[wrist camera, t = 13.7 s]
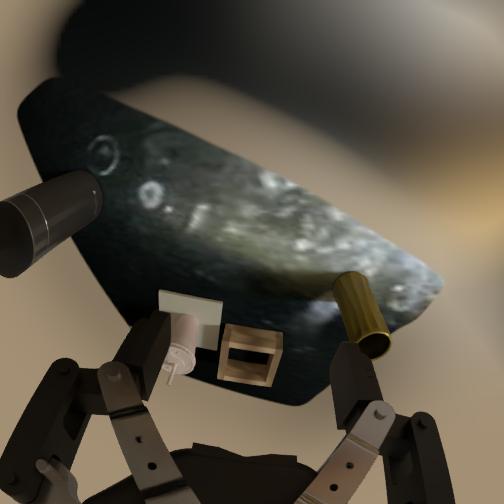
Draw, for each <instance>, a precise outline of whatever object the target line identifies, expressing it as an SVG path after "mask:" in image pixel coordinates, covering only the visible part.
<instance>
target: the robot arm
mask: <svg viewBox="0 0 504 504" xmlns="http://www.w3.org/2000/svg"><path fill="white" fill-rule="evenodd" d="M102 202H103V198H102V192H101V188H100V186H99V184H98V182H97V180H96V179H95V178H94V177H93V176H92V175H91V174H90V173H88V172H86V171H83V170H75V171H72V172H69V173H67V174H64V175H61V176H58V177H56V178H53V179H51V180H48V181H46V182H43V183H41V184H38V185H36V186H34V187H31V188H29V189H27V190H25V191H22V192H20V193H18V194H15V195H13V196H11V197H9V198H7V199H5V200H3V201H0V275H1V276H3V277H6V278H14V277H17V276H19V275H20V274H21V273H23V272H24V271H25V270H26V269H28V268H29V267H30V266H31V265H33V264H34V263H35V262H37V261H38V260H39V259H40V258H42V257H43V256H44V255H45V254H47V253H48V252H49V251H51V250H52V249H53V248H55V247H56V246H58V245H59V244H60V243H62V242H63V241H64V240H66V239H67V238H69V237H70V236H71V235H73V234H74V233H76V232H77V231H79V230H80V229H82V228H83V227H84V226H86V225H87V224H89V223H90V222H92V221H93V220H95V219H96V218H97V217H98V215H99V213H100V211H101V208H102ZM170 343H171V314H170V313H168V312H164V311H159V310H154V311H153V313H152V315H151V316H150V318H149V319H146V318H141V319H140V320H138V321H137V322H135V323H134V325H133V326H132V328H131V330H130V332H129V333H128V335H127V336H126V339H125V340H124V341H123V343H122V345H121V346H120V348H119V350H118V352H117V354H116V355H115V357H114V359H113V360H112V361H110V362H107V363H104V364H103V365H102V366H101V367H100V368H98V369H88V368H79V366H78V364H77V362H75V361H74V360H72V359H70V358H61V359H58V360H56V361H54V362H53V363H52V365H51V366H50V368H49V369H48V371H47V372H46V374H45V376H44V377H43V380H42V381H41V383H40V384H39V386H38V388H37V389H36V391H35V393H34V394H33V396H32V398H31V400H30V401H29V403H28V405H27V407H26V409H25V410H24V412H23V414H22V416H21V418H20V420H19V422H18V423H17V425H16V427H15V429H14V431H13V433H12V435H11V437H10V439H9V441H8V443H7V445H6V447H5V450H4V452H3V454H2V456H1V458H0V489H1V490H2V491H3V492H5V493H6V494H7V495H9V496H10V497H12V498H13V499H14V500H15V501H17V502H18V503H20V504H81V503H80V501H79V499H78V496H77V488H78V487H77V485H78V484H77V481H76V479H75V477H74V476H73V475H72V473H71V472H70V469H71V466H72V463H73V461H74V458H75V455H76V453H77V450H78V447H79V445H80V442H81V440H82V437H83V435H84V432H85V429H86V427H87V425H88V422H89V420H90V417H91V415H92V414H95V415H109V417H110V420H111V423H112V426H113V428H114V431H115V434H116V437H117V439H118V442H119V445H120V447H121V449H122V452H123V455H124V457H125V459H126V462H127V464H128V466H129V469H130V471H131V473H132V475H130V476H128V477H126V478H125V479H123V480H121V481H120V482H118V483H116V484H114V485H112V486H110V487H108V488H107V489H105V490H103V491H101V492H99V493H97V494H96V495H93V496H91V497H90V498H88V499H86V500H85V501H84V502H83V503H82V504H347V503H348V501H349V500H350V498H351V497H352V496H353V494H354V493H355V491H356V490H357V488H358V487H359V485H360V484H361V482H362V481H363V479H364V478H365V476H366V474H367V473H368V471H369V470H370V468H371V466H372V465H373V463H374V461H375V460H376V458H377V456H378V455H382V456H383V464H384V472H385V480H386V489H387V500H388V504H455V499H454V493H453V488H452V484H451V479H450V475H449V470H448V467H447V462H446V458H445V454H444V451H443V447H442V443H441V439H440V436H439V432H438V429H437V425H436V422H435V420H434V419H433V417H432V416H431V415H429V414H428V413H426V412H416V413H415V414H414V415H413V416H412V417H407V416H402V415H398V414H396V413H395V411H394V409H393V408H392V407H391V406H390V405H389V404H388V403H386V402H384V400H383V397H382V394H381V390H380V387H379V384H378V380H377V378H376V374H375V371H374V367H373V364H372V361H371V360H370V359H369V357H368V356H367V355H366V354H362V353H361V351H360V348H359V345H358V343H356V342H347V341H342V342H341V343H340V345H339V347H338V349H337V352H336V354H335V356H334V358H333V360H332V362H331V365H330V371H329V375H330V382H331V388H332V395H333V401H334V407H335V415H336V422H337V429H338V430H346V435H345V437H344V438H343V439H342V441H341V442H340V443H339V445H338V446H337V447H336V449H335V450H334V451H333V452H332V454H331V455H330V456H329V458H328V459H327V460H326V462H325V463H324V464H323V465H322V466H321V467H320V468H319V470H318V471H317V472H316V471H315V470H313V469H312V468H310V467H308V466H306V465H304V464H301V463H298V462H297V456H293V455H278V454H268V455H260V456H250V457H244V456H241V455H238V454H235V453H232V452H230V451H227V450H225V449H222V448H220V447H215V446H209V445H204V444H199V443H193V446H192V448H186V449H179V450H175V451H172V452H169V451H168V449H167V447H166V446H165V444H164V442H163V440H162V438H161V436H160V434H159V432H158V430H157V428H156V426H155V423H154V421H153V419H152V417H151V415H150V413H149V411H148V409H147V407H145V406H144V404H143V402H142V400H145V401H148V400H149V397H150V395H151V392H152V390H153V387H154V385H155V382H156V380H157V377H158V375H159V372H160V370H161V367H162V365H163V362H164V360H165V358H166V355H167V353H168V350H169V347H170Z"/></svg>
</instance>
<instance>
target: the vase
mask: <svg viewBox="0 0 504 504" xmlns="http://www.w3.org/2000/svg"><path fill="white" fill-rule="evenodd" d="M333 295H334V297H335V299H336V302H337V304H338V307H339V309H340V312H341V314H342V318H343V321H344V324H345V327H346V330H347V333H348V337H349V340H350V342H356V343H358V345H359V348H360V351H361V353H362V354H366V355H367V356H368V357H369V359H370V360H371V361H374V360H377V359H379V358H381V357H383V356H384V355H385V354H387V353H388V351H389V350H390V348H391V345H392V338H391V335H390V333H389V330H388V328H387V326H386V324H385V321H384V319H383V317H382V315H381V312H380V310H379V307H378V305H377V302H376V300H375V298H374V295H373V293H372V291H371V289H370V287H369V283H368V280H367V278H366V277H365V276H364V275H362V274H360V273H358V272H349V273H346V274H344V275H342V276H341V277H339V278H338V279H337V280H336V282H335V284H334V286H333Z"/></svg>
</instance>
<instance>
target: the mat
mask: <svg viewBox="0 0 504 504" xmlns="http://www.w3.org/2000/svg"><path fill="white" fill-rule="evenodd" d="M222 305H223V302H222V301H216V300H211V299H205V298H200V297H195V296H190V295H185V294H180V293H175V292H170V291H165V290H159V311H164V312H168V313H170V314H171V329H172V328H173V326H174V325H175V323H176V322H177V320H178V319H179V317H180V316H182V315H185V314H188V315H191V316H193V317H195V318H196V319H197V321H198V324H199V325H198V332H197V340H196V347H200V348H205V349H211V350H216V351H217V346H218V338H219V329H220V321H221V313H222Z"/></svg>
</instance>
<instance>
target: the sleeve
mask: <svg viewBox="0 0 504 504" xmlns="http://www.w3.org/2000/svg"><path fill="white" fill-rule="evenodd" d="M229 347H232V348H238V349H244V350H250V351H257V352H263V353H270V355H269V358H268V362H267V365H263V364H256V363H250V362H244V361H237V360H232V359H228V352H229ZM282 351H283V333H282V332H275V331H268V330H262V329H255V328H249V327H243V326H237V325H232V324H226V326H225V330H224V335H223V339H222V346H221V353H220V361H219V369H218V377H217V379H222V380H228V381H234V382H240V383H246V384H253V385H260V386H268V387H271V385H272V382H273V379H274V376H275V373H276V370H277V367H278V364H279V361H280V358H281V355H282Z"/></svg>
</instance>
